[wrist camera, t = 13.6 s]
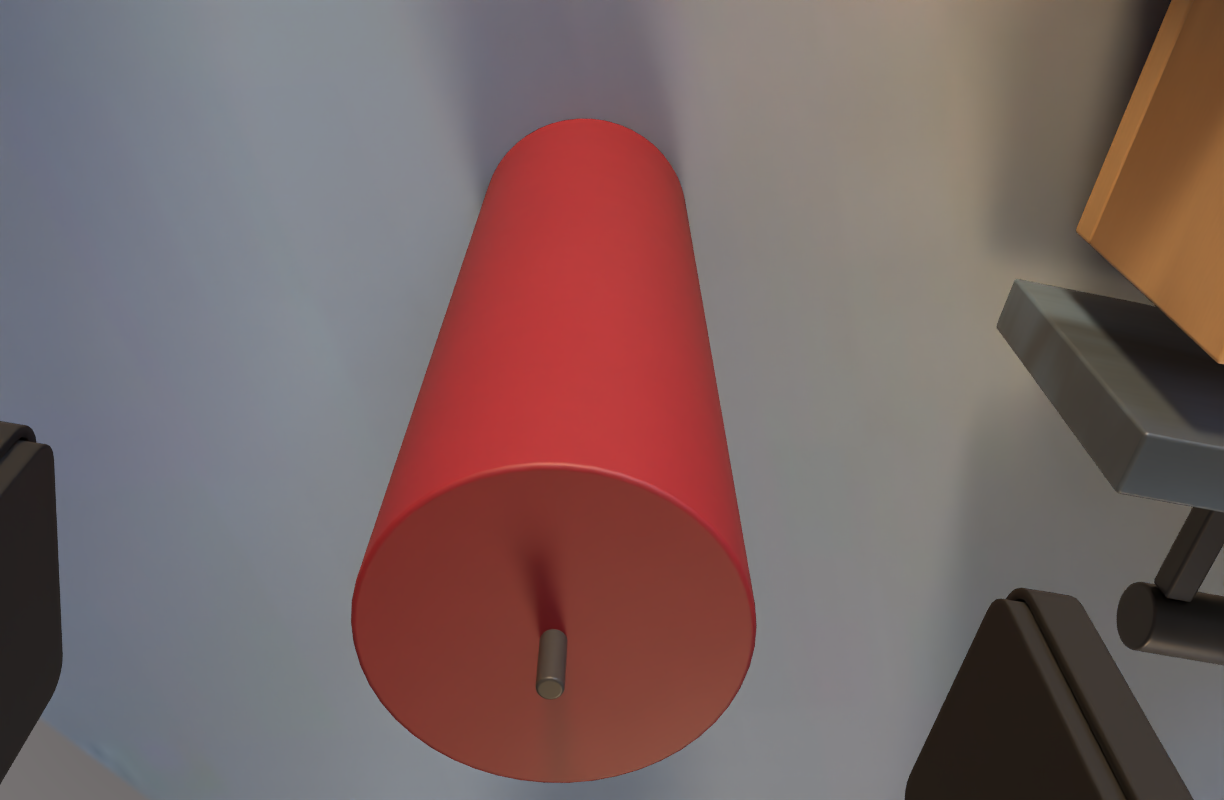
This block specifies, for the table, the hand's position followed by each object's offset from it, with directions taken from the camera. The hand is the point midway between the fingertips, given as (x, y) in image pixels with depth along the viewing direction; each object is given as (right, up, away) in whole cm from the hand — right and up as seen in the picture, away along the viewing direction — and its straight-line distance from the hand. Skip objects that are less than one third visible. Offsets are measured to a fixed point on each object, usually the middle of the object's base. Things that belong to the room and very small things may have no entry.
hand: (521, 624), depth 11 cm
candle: (0, +6, +13) cm, 15 cm away
